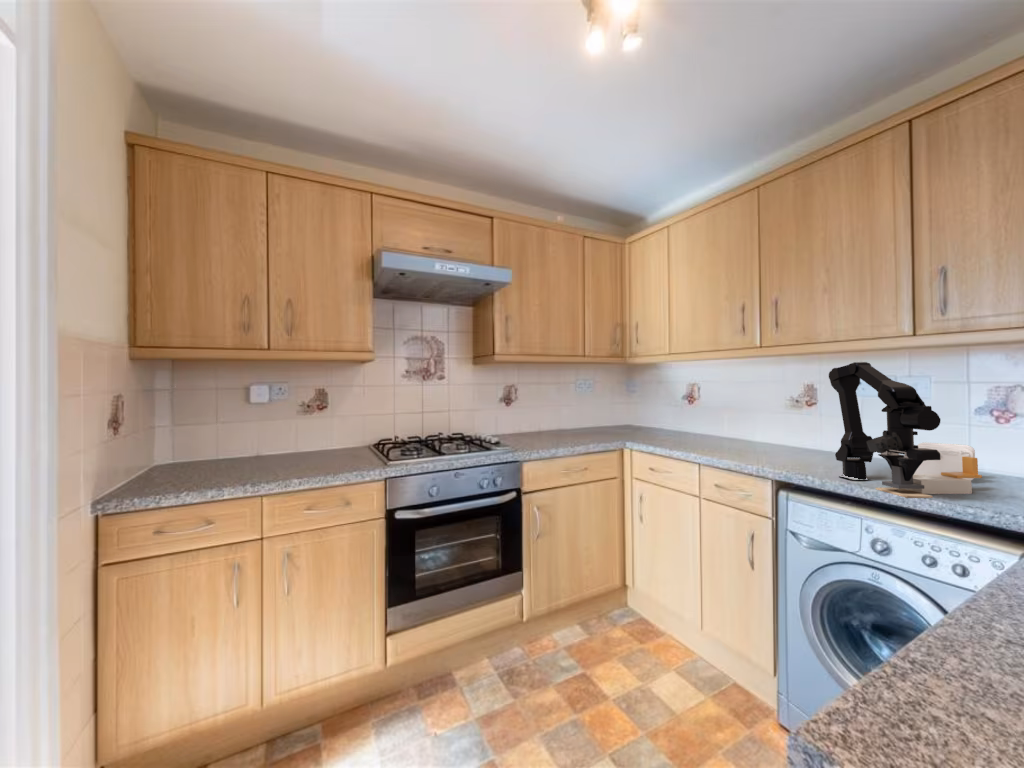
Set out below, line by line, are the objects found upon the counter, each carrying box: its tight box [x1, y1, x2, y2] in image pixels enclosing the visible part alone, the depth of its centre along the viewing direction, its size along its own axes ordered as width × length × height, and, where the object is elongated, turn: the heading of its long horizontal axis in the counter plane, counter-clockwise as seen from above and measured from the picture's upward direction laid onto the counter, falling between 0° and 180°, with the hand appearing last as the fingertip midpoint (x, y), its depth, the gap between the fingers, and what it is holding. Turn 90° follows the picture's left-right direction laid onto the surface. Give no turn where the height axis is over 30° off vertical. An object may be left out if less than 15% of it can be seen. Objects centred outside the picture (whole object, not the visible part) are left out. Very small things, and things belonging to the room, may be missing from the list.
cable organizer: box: [914, 442, 976, 481], centre depth 143 cm, size 15×11×12 cm
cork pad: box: [875, 487, 933, 499], centre depth 124 cm, size 11×7×1 cm, turn 177°
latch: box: [941, 457, 983, 479], centre depth 127 cm, size 5×7×6 cm
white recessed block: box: [907, 474, 973, 495], centre depth 127 cm, size 10×14×4 cm
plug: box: [881, 461, 924, 489], centre depth 124 cm, size 6×7×8 cm
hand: (902, 479), depth 124 cm, fingers closed on plug, 3 cm apart
